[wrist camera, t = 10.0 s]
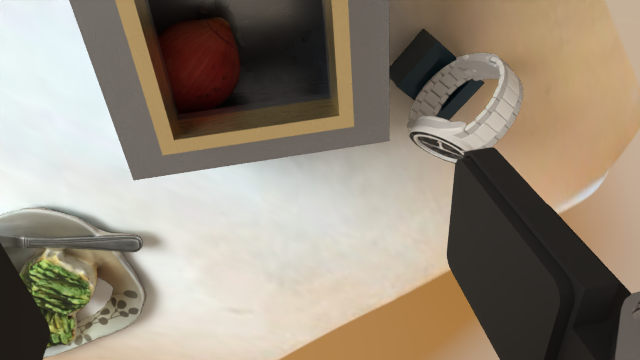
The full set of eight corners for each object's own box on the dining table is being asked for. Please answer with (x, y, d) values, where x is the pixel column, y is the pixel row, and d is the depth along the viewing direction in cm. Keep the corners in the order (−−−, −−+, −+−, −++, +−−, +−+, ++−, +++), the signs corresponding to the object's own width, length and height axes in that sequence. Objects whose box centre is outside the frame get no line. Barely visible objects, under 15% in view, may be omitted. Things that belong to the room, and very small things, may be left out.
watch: (369, 90, 40) (411, 158, 31) (439, 9, 37) (508, 58, 28) (416, 125, 43) (467, 197, 33) (484, 52, 40) (560, 109, 31)
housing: (80, -134, 29) (1, -129, 19) (344, -160, 30) (404, -169, 20) (153, 110, 38) (127, 203, 28) (355, 81, 39) (400, 160, 29)
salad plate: (94, 157, 40) (81, 188, 36) (192, 296, 50) (189, 332, 46) (-122, 235, 40) (-158, 275, 37) (17, 357, 51) (1, 398, 47)
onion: (255, 46, 30) (182, 149, 31) (268, 50, 35) (205, 138, 37) (176, -15, 29) (105, 93, 31) (202, -1, 35) (141, 90, 36)
